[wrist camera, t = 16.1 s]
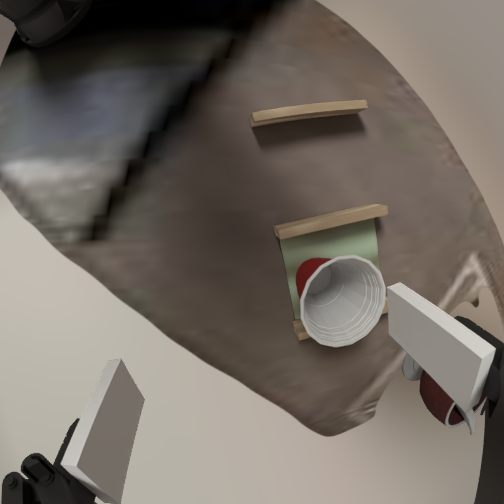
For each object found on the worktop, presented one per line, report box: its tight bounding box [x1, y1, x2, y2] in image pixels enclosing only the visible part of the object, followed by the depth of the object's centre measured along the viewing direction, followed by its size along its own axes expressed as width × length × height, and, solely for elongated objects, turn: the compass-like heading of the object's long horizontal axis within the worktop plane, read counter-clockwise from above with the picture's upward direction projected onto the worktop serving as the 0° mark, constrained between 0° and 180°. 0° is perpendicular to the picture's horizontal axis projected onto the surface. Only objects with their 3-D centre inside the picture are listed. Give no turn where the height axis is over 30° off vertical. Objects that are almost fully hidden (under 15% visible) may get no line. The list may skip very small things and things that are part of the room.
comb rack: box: [249, 100, 388, 341], centre depth 39 cm, size 32×16×4 cm, turn 12°
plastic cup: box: [296, 255, 386, 347], centre depth 36 cm, size 11×11×12 cm
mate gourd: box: [402, 353, 487, 435], centre depth 40 cm, size 16×14×20 cm
